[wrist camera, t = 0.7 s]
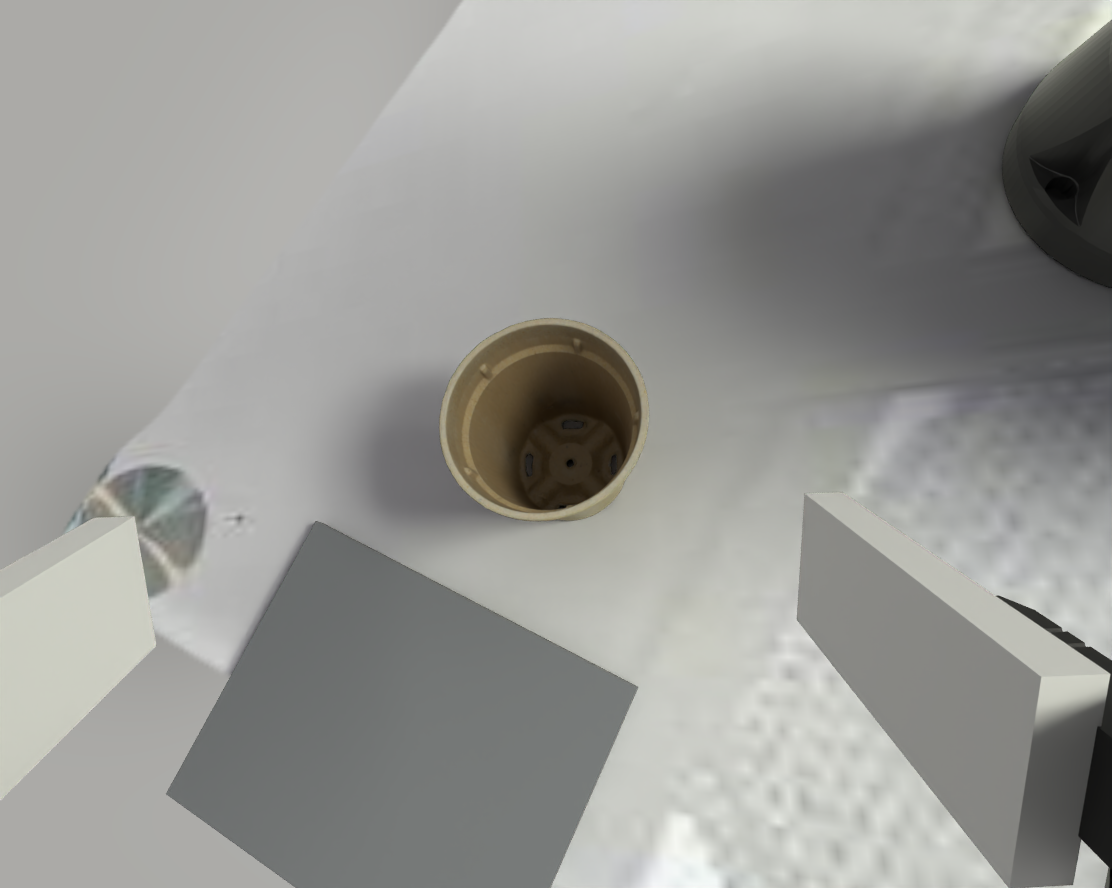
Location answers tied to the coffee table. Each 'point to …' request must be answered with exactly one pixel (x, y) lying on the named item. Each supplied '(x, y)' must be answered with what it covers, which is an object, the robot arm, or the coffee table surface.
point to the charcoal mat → (399, 734)
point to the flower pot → (544, 420)
